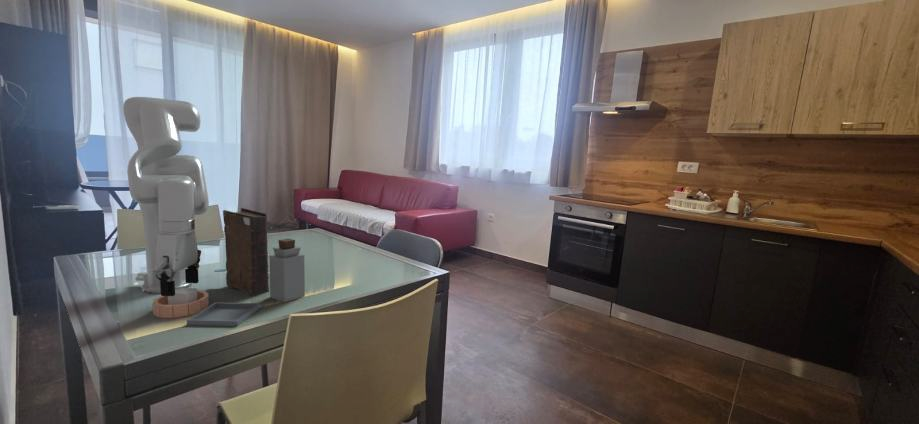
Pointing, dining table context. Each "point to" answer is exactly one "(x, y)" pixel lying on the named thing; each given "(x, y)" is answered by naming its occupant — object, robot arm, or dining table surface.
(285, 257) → the perfume bottle
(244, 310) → the tray
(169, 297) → the white cube
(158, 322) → the dining table surface
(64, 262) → the dining table surface
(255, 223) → the book
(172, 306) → the terracotta bowl
